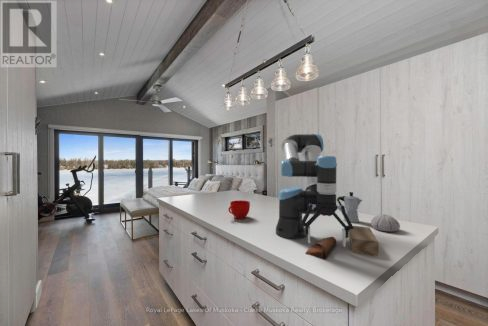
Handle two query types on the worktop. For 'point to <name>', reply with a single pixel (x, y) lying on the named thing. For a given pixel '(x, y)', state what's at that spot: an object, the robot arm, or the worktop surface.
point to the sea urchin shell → (385, 223)
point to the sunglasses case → (322, 248)
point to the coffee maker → (351, 207)
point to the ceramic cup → (239, 208)
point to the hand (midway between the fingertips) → (326, 243)
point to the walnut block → (363, 241)
